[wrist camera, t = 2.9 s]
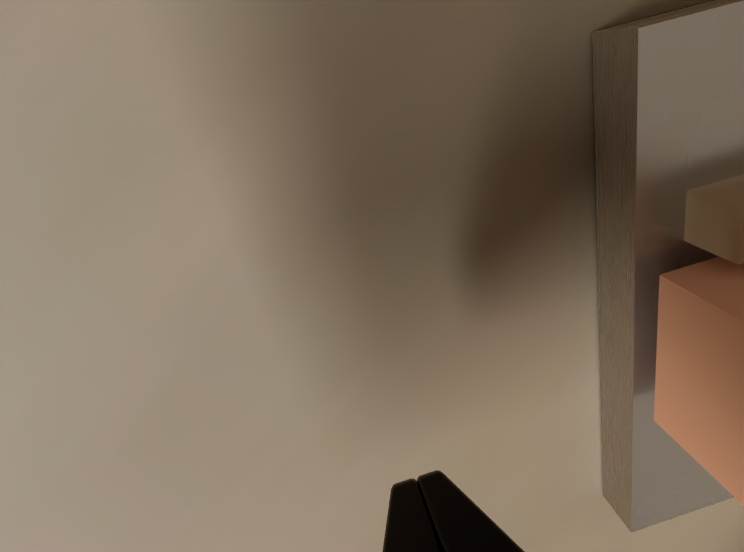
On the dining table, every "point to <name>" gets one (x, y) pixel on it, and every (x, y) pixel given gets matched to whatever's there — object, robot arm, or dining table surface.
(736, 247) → the bar
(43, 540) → the dining table surface
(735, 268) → the slide leg
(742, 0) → the flange plate
